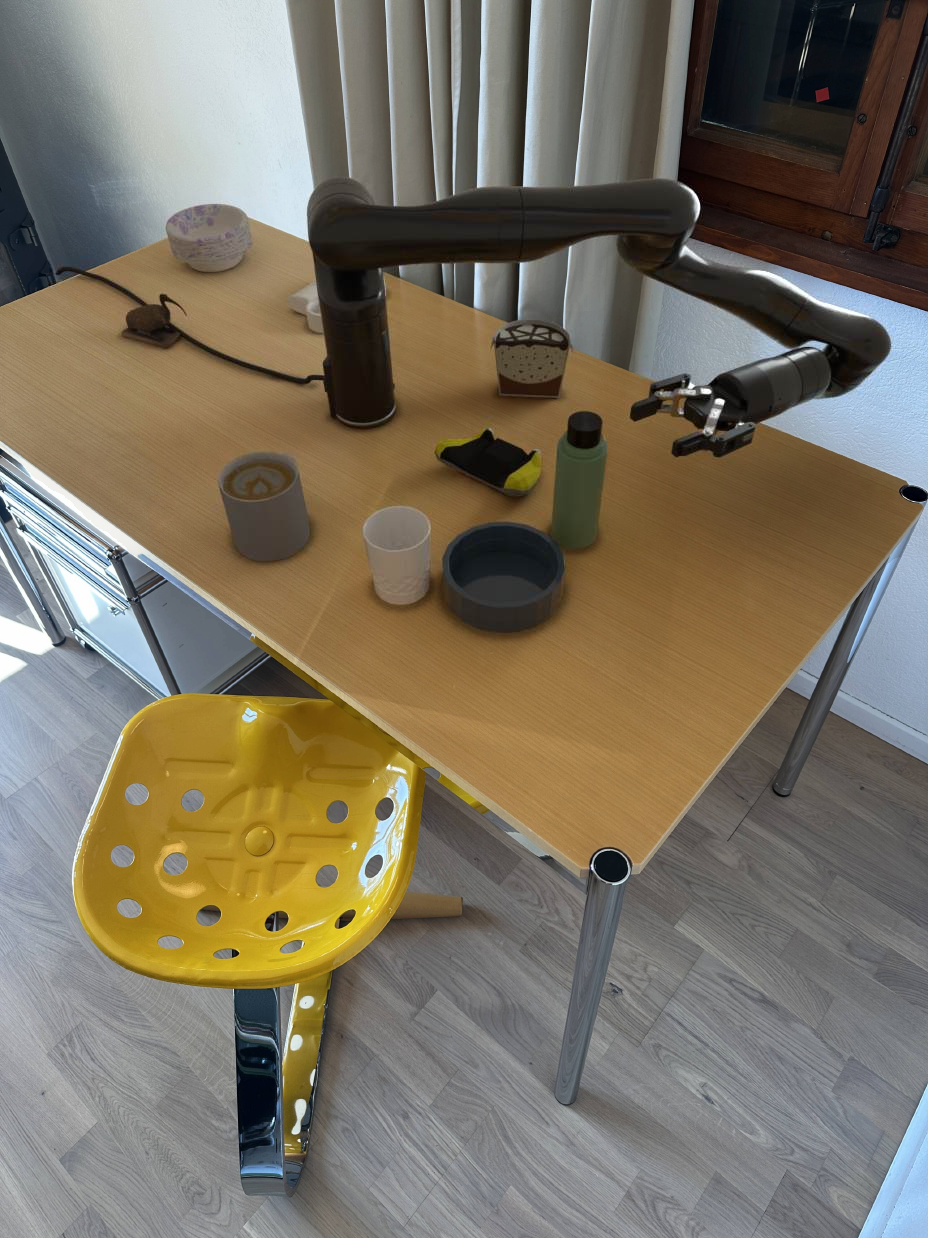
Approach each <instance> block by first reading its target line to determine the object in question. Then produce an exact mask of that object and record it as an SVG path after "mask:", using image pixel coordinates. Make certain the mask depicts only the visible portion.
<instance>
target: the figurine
mask: <svg viewBox="0 0 928 1238" xmlns="http://www.w3.org/2000/svg"><path fill="white" fill-rule="evenodd" d="M158 298H159V302H160V304H158V303H157V304H156V303H152V304H151V303H150V304H148V305H145V306H142V305H140V306H139V307H135V308H133V309H130V310H129V311H128V312H127V313H126V315H125V322H126V326H127V327H126V328H125V329H123V330H122V331H121V335H122V337H125V338H129V339H133V340H136V341H138V342H139V341H140V342H143V343H147V344H151V345H155V346H157V347H161V348H165V349H169V348H170V347H171V346H172V345H174V344H175V343H176V342H178V341H179V340H181V339H182V338H183V337H182V336H181V335H180V333H179V332H177V331H176V330H177V329H174V328H169V327H168V326H167V325H168V323H169V322H171V319H172V318H171V310H170V309H169V307H168V305H167V304H166V303H170V304H173V305H175V306H177V307H179V309H180V310H181V311H182V312H183V313H184V316H186V317H187V316H188V314H187V312H186V311H185V310H184V308H183V307H182V306H181V305H180V304H179V303H178V302H177V301H176V300H174V299H172V298H171V297H169V296H168V295H167V294H165V293H160V294H159V295H158Z"/></svg>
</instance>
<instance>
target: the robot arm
mask: <svg viewBox="0 0 928 1238" xmlns="http://www.w3.org/2000/svg"><path fill="white" fill-rule="evenodd" d="M700 212H701V203H700V200H699V197H698V196H697V194H696V193H695V191H694V190H693V189H692V188H690V187H689V186H688V185H686V184H684V183H683V182H681V181H678V180H675V179H670V178H662V177H656V178H643V179H635V180H633V179H632V180H626V181H617V182H610V183H601V184H600V183H599V184H591V185H588V184H587V185H570V186H569V185H565V186H563V185H562V186H561V185H560V186H521V185H520V186H516V185H515V186H514V185H511V186H507V185H506V186H505V185H504V186H482V187H475V188H470V189H467V190H464V191H460V192H458V193H455V194H453V195H450V196H447V197H444V198H442V199H439V200H436V201H432V202H429V203H424V204H420V205H419V204H417V205H384V204H376V201H375V198H374V197H373V195H372V194H371V192H370V190H369V189H368V188H367V187H366V186H365V185H363V184H362V183H361V182H360V181H359V180H356V179H354V178H351V177H349V176H341V175H339V176H338V175H337V176H333V177H332V176H331V177H329V178H326V179H325V180H323V181H322V182H320V183H319V184H318V185H317V186H316V187H315V188H314V189H313V190H312V193H311V194H310V197H309V199H308V202H307V206H306V225H307V238H308V245H309V247H310V250H311V252H312V258H313V259H312V260H313V266H314V275H315V281H316V285H317V293H318V299H319V306H320V312H321V319H322V325H323V332H324V333H323V339H324V344H325V351H326V356H325V357H324V359H323V361H322V370H323V374H310V375H307V377H305V378H304V377H297V376H292V375H288V374H286V373H283V372H279V371H275V370H273V369H270V368H266V367H263V366H260V365H256V364H253V363H249V362H246V361H243V360H240V359H238V358H235V357H233V356H230V355H227V354H225V353H223V352H220V351H218V350H216V349H214V348H212V347H210V346H208V345H206V344H204V343H202V342H200V341H199V340H196V339H195V338H194V337H192V336H191V335H189V334H187V333H186V332H185V331H183V330H182V329H180V328H178V326H176V325H174V324H173V323H172V322H171V321H170V322H169V323H168V325H167V326H166V327H168V328H174V329H177V330H176V331H177V332H179V333H180V335H181V336H182V338H183V339H185V340H186V341H188V342H189V343H190V344H192V345H194V346H196V347H197V348H199V349H201V350H203V351H204V352H207V353H209V354H210V355H213V356H214V357H217V358H218V359H222V360H224V361H226V362H229V363H232V364H234V365H237V366H240V367H242V368H246V369H249V370H252V371H254V372H255V371H256V372H258V373H262V374H265V375H268V376H271V377H274V378H278V379H282V380H285V381H288V382H292V383H295V384H302V385H308V384H310V383H311V381H322V383H323V388H324V392H325V393H326V396H327V402H328V408H329V414H330V418H331V419H336V420H337V421H338V422H339V423H341V424H342V425H344V426H345V427H349V428H354V429H371V428H376V427H379V426H382V425H384V424H386V423H387V422H389V421H390V420H392V419H393V417H394V416H395V414H396V411H397V403H396V397H395V389H396V385H395V383H394V376H393V375H394V374H393V365H392V355H391V344H390V343H391V342H390V341H391V340H390V332H389V329H390V328H389V320H388V309H387V298H386V297H387V295H386V296H385V286H386V283H385V284H384V278H385V275H384V269H387V268H395V267H403V266H411V265H423V264H424V265H425V264H427V265H428V264H432V265H433V264H435V265H436V264H438V265H439V264H440V265H442V264H444V265H445V264H448V265H449V264H450V265H453V264H454V265H455V264H520V263H521V264H522V263H530V262H534V261H538V260H540V259H541V260H542V259H544V258H546V257H549V256H551V255H553V254H556V253H559V252H560V251H564V250H566V249H568V248H569V247H572V246H574V245H577V244H579V243H581V242H583V241H587V240H590V239H593V238H599V237H606V236H616V239H615V246H616V250H617V253H618V255H619V257H620V258H621V260H622V261H623V263H625V264H626V265H627V266H628V267H629V268H631V269H633V270H634V271H636V272H638V273H640V274H641V275H644V276H646V277H647V278H650V279H652V280H654V281H657V282H659V283H662V284H663V285H666V286H669V287H671V288H673V289H675V290H678V291H679V292H682V293H684V294H687V295H689V296H691V297H694V298H695V299H698V300H699V301H702V302H705V303H707V304H709V305H711V306H714V307H716V308H718V309H720V310H722V311H724V312H726V313H728V314H730V315H732V316H734V317H735V318H737V319H739V320H740V321H742V322H744V323H746V324H747V325H748V326H750V327H751V328H753V329H755V330H756V331H758V332H759V333H761V334H762V335H764V336H766V337H767V338H768V339H770V340H771V341H773V342H775V343H776V344H778V345H779V346H781V347H783V348H784V349H787V350H788V351H786V352H783V353H780V354H778V355H774V356H771V357H770V356H769V357H765V358H761V359H758V360H755V361H752V362H749V363H747V364H744V365H741V366H738V367H736V368H733V369H730V370H727V371H724V372H722V373H719V374H718V375H717V376H715V377H714V378H713V379H712V380H711V381H710V382H709V383H707V384H705V385H695V384H694V383H693V382H691V380H692V379H691V378H692V375H691V374H689V373H687V372H686V373H684V372H683V373H681V374H678V375H674V376H671V377H668V378H666V379H661V380H658V381H655V382H652V383H650V385H649V391H648V397H646V398H644V399H641V400H639V401H636V402H634V403H633V404H631V407H630V411H629V412H630V413H629V419H630V420H631V421H632V422H634V423H635V422H638V421H641V420H643V419H647V418H650V417H652V416H654V415H657V414H658V413H659V414H669V415H670V416H671V417H673V418H684V419H685V420H686V421H688V422H690V423H692V424H693V426H694V427H695V428H696V429H697V431H695V432H692V433H690V434H686V435H684V436H682V437H679V438H677V439H675V440H674V441H673V442H672V445H671V446H672V447H671V451H670V453H671V455H672V456H673V457H674V458H680V457H688V456H689V455H692V454H695V453H697V452H699V451H701V452H708V451H709V452H711V453H712V456H713V457H715V458H723V457H724V456H725V457H726V456H727V455H729V454H731V453H734V452H735V451H737V450H739V449H742V448H744V447H747V446H748V445H751V444H752V442H753V438H754V435H755V431H756V427H757V424H760V423H762V422H764V421H767V420H770V419H772V418H776V417H777V416H779V415H782V414H783V413H785V412H787V411H788V410H790V409H792V408H795V407H797V406H800V405H802V404H806V403H808V402H810V401H813V400H825V399H826V400H827V399H834V398H839V397H842V396H844V395H847V394H849V393H850V392H852V391H854V390H855V389H856V388H858V387H859V386H860V385H861V384H862V383H863V382H864V381H866V379H867V378H869V376H871V374H872V373H874V371H875V370H877V368H879V366H880V365H882V364H883V363H884V361H885V360H886V359H887V358H888V357H889V354H890V353H891V349H892V340H891V337H890V334H889V332H888V330H887V329H886V328H885V326H884V325H883V324H881V323H880V322H879V321H878V320H876V319H875V318H874V317H873V318H872V316H868V315H866V314H864V313H860V312H857V311H854V310H851V309H847V308H843V307H840V306H837V305H834V304H831V303H827V302H825V301H824V302H823V301H821V300H818V299H816V298H815V297H814V296H812V295H810V294H809V293H807V292H806V291H805V290H802V289H801V288H799V287H798V286H796V285H795V284H793V283H792V282H790V281H789V280H787V279H785V278H783V277H782V276H779V275H777V274H775V273H772V272H769V271H765V270H761V269H756V268H749V267H741V266H733V265H727V264H723V263H719V262H716V261H713V260H710V259H708V258H706V257H704V256H702V255H700V254H699V253H698V252H696V251H695V250H694V249H692V248H691V247H689V246H688V245H687V242H688V241H689V239H690V237H691V235H692V234H693V232H694V229H695V227H696V225H697V223H698V220H699V216H700ZM65 272H71V273H74V274H78V275H82V276H84V277H87V278H91V279H94V280H97V281H100V282H102V283H105V284H107V285H108V286H110V287H112V288H114V289H116V290H118V291H119V292H121V293H123V294H125V295H126V296H128V297H129V298H130V299H132V300H133V301H135V302H136V303H138V304H139V305H140V306H145V305H149V304H148V303H147V302H146V301H145V300H143V299H142V298H140V297H139V296H138V295H136V294H135V293H134V292H131V291H130V290H128V289H127V288H125V287H123V286H121V285H119V284H118V283H116V282H114V281H112V280H111V279H109V278H106V277H104V276H102V275H98V274H95V273H92V272H89V271H86V270H83V269H81V268H80V269H79V268H76V267H72V266H62V267H59V268H58V269H57V270H56V272H55V276H61V275H62V274H63V273H65ZM811 342H817V343H821V344H824V345H825V344H826V345H825V346H824V347H823V348H822V349H820V348H817V347H814V346H805V345H807V344H808V343H811ZM681 399H685V400H684V402H683V407H682V408H680V407H679V404H680V400H681ZM666 401H671V404H664V402H666ZM699 430H701V431H702V432H700V431H699ZM718 432H722V433H721V434H718ZM717 434H718V435H717Z"/></svg>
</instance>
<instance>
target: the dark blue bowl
mask: <svg viewBox="0 0 928 1238" xmlns="http://www.w3.org/2000/svg"><path fill="white" fill-rule="evenodd" d="M559 546H560V545H559V544H558V543H556V542H555V541H554V540H553V538H552V536H549V535H548V534H547V533H545V532H544V531H543V530H541V529H538V528H536V527H534V526H531V525H529V524H524V523H520V522H519V523H518V522H513V521H507V520H506V521H490V522H485V523H482V524H479V525H474V526H471V527H469V528H468V529H466V530H464V531H462V532H461V533H459V534H457V536H455V537H454V538H453V539H452V540H451V542H449V544H448V545H447V546H446V549H445V551H444V553H443V555H442V558H441V566H442V568H441V569H442V583H443V584H442V585H443V588H442V589H443V598H444V600H445V602H446V604H447V606H448V608H449V611H451V612H452V613H453V614H454V615H455V616H456V617H457V618H458V619H459V620H460V621H461V622H463V623H465V624H467V625H469V626H471V627H473V628H475V629H477V630H481V631H486V632H489V633H490V632H491V633H499V634H501V633H502V634H507V633H509V634H510V633H517V632H522V631H526V630H530V629H532V628H535V627H537V626H538V625H540V624H542V623H544V622H545V621H547V620H549V618H551V616H552V615H553V614H554V613H555V612H556V610H557V609H558V607H559V606H560V604H561V600H562V597H563V594H564V584H565V575H566V561H565V557H564V552H563V551H562V549H561V548H560V547H559Z"/></svg>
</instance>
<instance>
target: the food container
mask: <svg viewBox="0 0 928 1238" xmlns="http://www.w3.org/2000/svg"><path fill="white" fill-rule="evenodd" d="M493 347H494V355H495V357H494V358H495V367H496V376H497V386H498V394H499V396H502V397H503V396H504V397H507V396H508V397H529V398H548V399H549V398H550V399H551V398H552V399H560V396H561V391H562V388H563V387H562V386H563V381H564V377H565V372H566V366H567V362H568V357H569V352H570V351H571V353H574V349H573V342H572V338H571V336H570V333H569V332H568V331H567V330H566V329H565V328H564V327H562V326H561V325H559V324H558V323H555V322H553V321H549V320H546V319H539V318H524V319H519V320H513V321H510V322H507V323H505V324H503V325H502V326H500V327H499V328H498V329H497V330H496V332H495V333H494V335H493V337H492V340H491V344H490V348H489V349H490V350H492V349H493ZM570 349H571V350H570Z"/></svg>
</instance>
